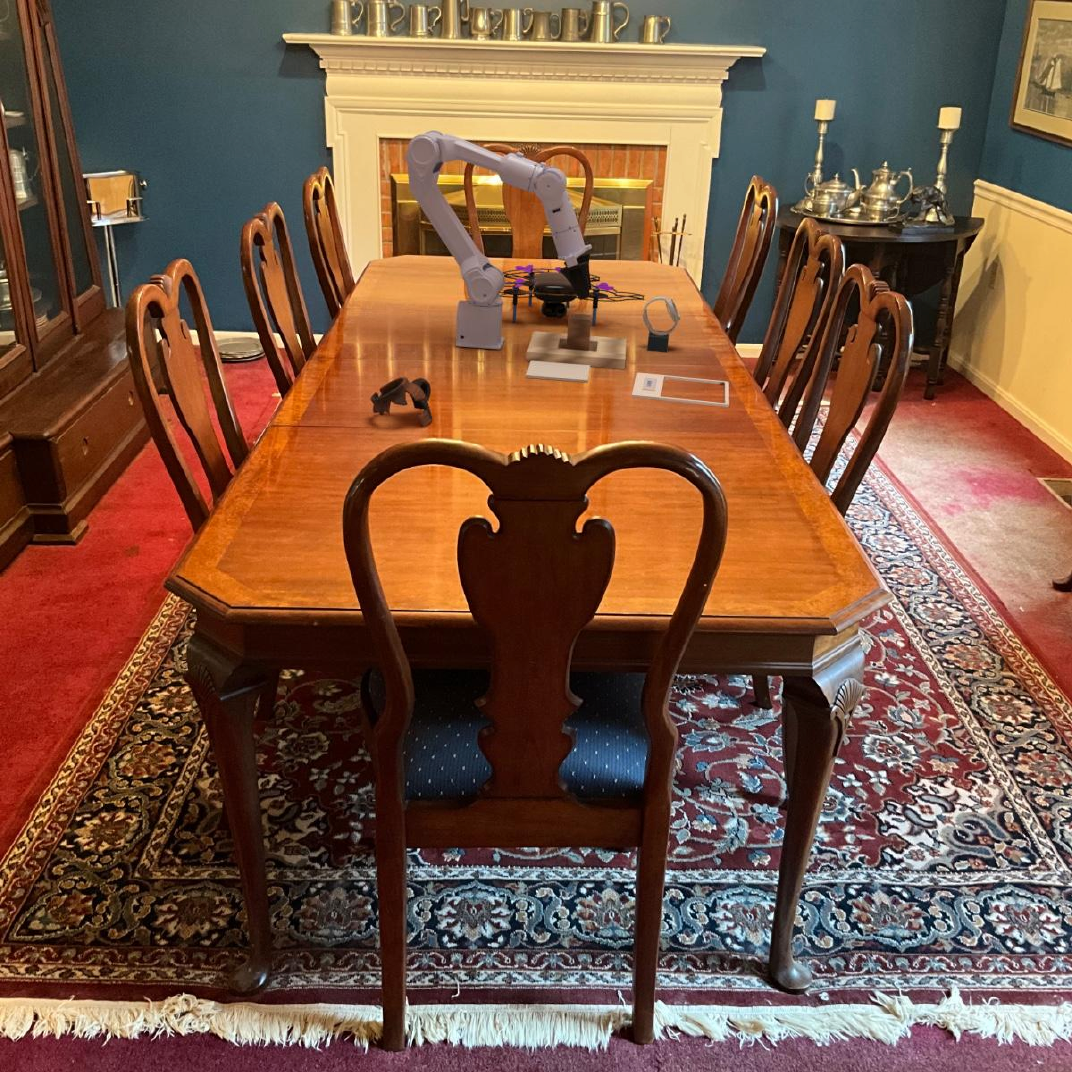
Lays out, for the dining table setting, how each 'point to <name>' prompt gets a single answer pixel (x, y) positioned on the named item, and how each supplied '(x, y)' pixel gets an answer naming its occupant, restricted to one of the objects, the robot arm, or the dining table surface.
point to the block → (579, 332)
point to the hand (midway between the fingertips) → (585, 294)
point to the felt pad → (558, 371)
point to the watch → (660, 338)
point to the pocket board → (548, 345)
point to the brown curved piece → (404, 397)
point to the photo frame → (652, 388)
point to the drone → (555, 291)
